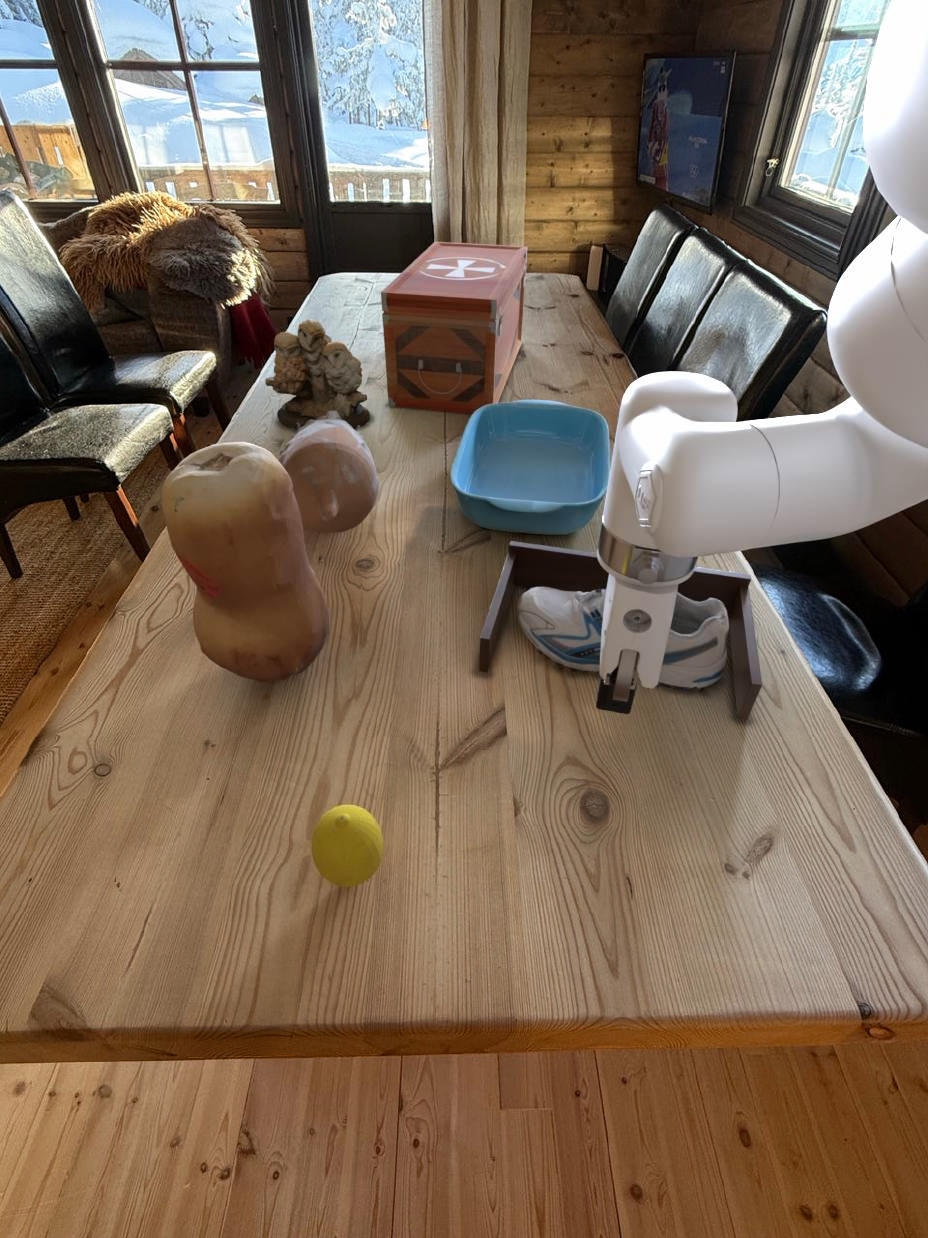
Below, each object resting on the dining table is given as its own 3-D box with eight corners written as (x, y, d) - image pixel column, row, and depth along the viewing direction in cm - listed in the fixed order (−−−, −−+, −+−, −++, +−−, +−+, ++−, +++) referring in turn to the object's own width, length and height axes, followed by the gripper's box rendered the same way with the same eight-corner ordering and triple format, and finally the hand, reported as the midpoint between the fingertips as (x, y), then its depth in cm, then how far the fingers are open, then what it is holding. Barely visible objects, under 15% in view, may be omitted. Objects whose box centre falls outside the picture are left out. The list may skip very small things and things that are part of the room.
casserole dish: (475, 430, 117) (476, 391, 112) (602, 439, 115) (608, 399, 110) (438, 547, 89) (437, 501, 85) (604, 563, 87) (613, 516, 82)
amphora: (266, 488, 76) (286, 351, 95) (268, 580, 88) (286, 443, 107) (385, 500, 79) (382, 365, 98) (372, 588, 91) (371, 453, 110)
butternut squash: (187, 665, 72) (108, 456, 56) (286, 606, 80) (242, 407, 63) (264, 730, 65) (198, 513, 49) (364, 659, 73) (336, 451, 57)
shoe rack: (747, 719, 67) (765, 678, 63) (478, 671, 72) (480, 630, 68) (736, 614, 79) (750, 574, 75) (507, 579, 84) (510, 540, 80)
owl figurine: (264, 432, 116) (243, 331, 105) (281, 404, 125) (264, 309, 114) (365, 434, 115) (355, 333, 104) (375, 407, 124) (367, 311, 113)
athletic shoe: (520, 603, 80) (525, 536, 70) (715, 632, 77) (749, 567, 67) (506, 673, 74) (509, 610, 65) (716, 708, 71) (753, 648, 61)
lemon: (394, 891, 53) (387, 837, 48) (326, 914, 51) (311, 861, 46) (377, 833, 57) (369, 777, 52) (313, 853, 55) (298, 798, 50)
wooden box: (523, 343, 152) (529, 246, 139) (494, 416, 122) (498, 300, 108) (436, 337, 155) (434, 241, 142) (387, 406, 125) (379, 292, 111)
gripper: (702, 610, 44) (651, 777, 56) (696, 501, 55) (655, 659, 67) (590, 594, 46) (563, 760, 57) (606, 490, 57) (581, 647, 69)
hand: (613, 705), depth 62 cm, fingers closed
